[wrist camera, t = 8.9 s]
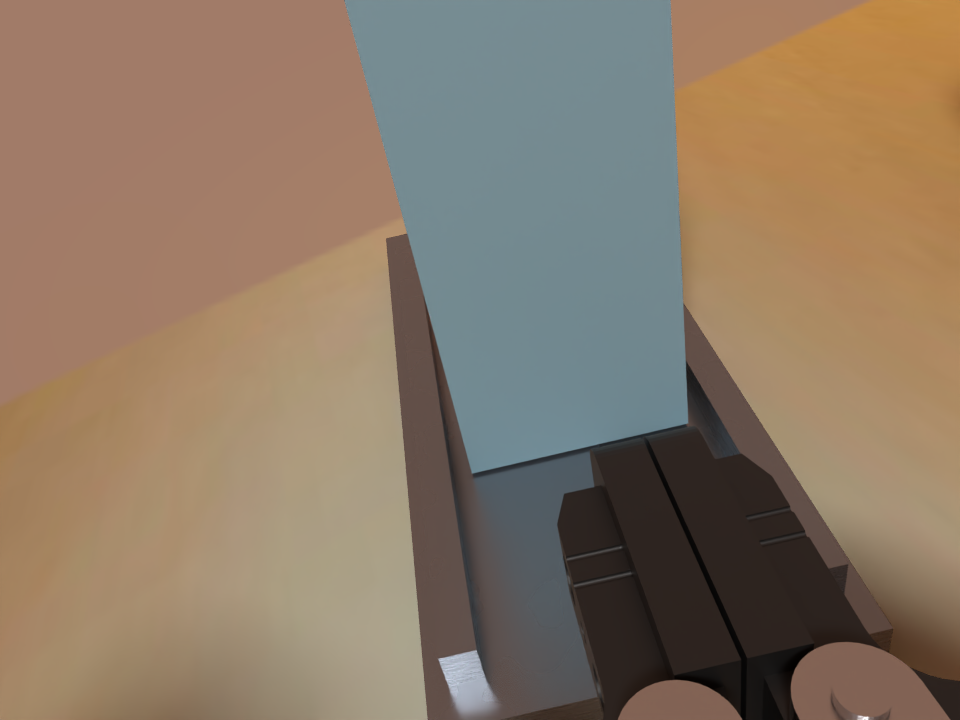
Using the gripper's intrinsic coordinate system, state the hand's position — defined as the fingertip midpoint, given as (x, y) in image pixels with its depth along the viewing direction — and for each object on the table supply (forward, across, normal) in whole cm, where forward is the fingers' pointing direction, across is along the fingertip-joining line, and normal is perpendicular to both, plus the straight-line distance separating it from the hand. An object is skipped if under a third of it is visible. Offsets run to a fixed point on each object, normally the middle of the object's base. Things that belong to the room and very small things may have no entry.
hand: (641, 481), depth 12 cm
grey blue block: (+14, 0, +7) cm, 15 cm away
